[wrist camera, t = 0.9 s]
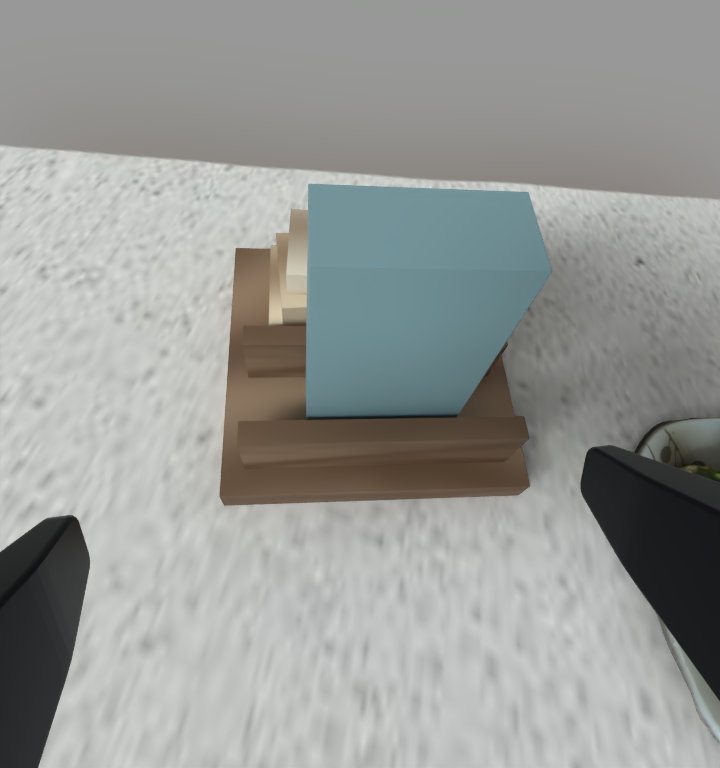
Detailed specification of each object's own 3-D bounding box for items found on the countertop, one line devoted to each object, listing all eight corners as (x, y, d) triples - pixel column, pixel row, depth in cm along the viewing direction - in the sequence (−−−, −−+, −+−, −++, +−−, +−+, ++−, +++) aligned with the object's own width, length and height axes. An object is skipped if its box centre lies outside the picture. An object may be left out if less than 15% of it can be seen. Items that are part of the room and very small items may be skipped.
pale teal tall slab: (443, 437, 24) (552, 271, 14) (306, 440, 24) (310, 266, 13) (435, 381, 26) (528, 192, 15) (305, 382, 25) (308, 183, 14)
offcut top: (454, 303, 25) (462, 284, 23) (286, 293, 24) (286, 274, 23) (447, 240, 27) (454, 220, 25) (291, 230, 26) (291, 209, 25)
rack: (517, 495, 25) (558, 465, 21) (224, 505, 23) (208, 474, 19) (471, 270, 31) (495, 215, 27) (238, 266, 30) (229, 206, 26)
